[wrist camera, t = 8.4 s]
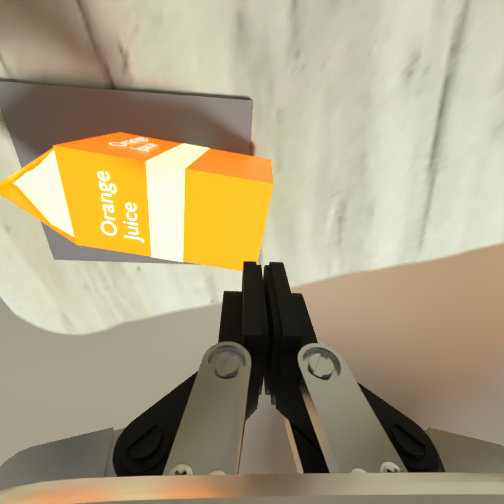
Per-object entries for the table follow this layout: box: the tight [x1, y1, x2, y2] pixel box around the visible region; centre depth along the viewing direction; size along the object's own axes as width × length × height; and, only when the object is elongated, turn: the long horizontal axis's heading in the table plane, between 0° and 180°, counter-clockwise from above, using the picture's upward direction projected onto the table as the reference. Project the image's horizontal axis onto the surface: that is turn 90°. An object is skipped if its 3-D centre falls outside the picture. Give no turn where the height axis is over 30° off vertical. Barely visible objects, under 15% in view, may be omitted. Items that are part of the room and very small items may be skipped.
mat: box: [0, 81, 253, 265], centre depth 27 cm, size 18×23×1 cm
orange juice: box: [0, 132, 273, 271], centre depth 22 cm, size 8×9×20 cm
